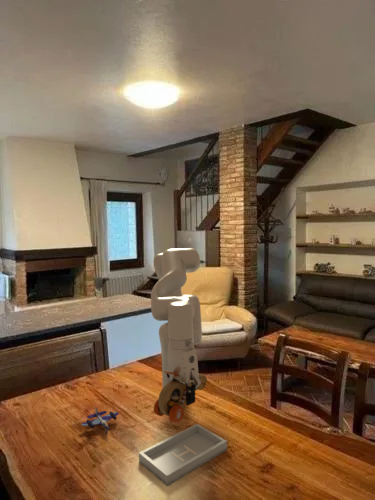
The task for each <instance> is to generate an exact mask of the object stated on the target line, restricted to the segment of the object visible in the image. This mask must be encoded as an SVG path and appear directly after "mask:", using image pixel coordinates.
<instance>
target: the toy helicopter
mask: <svg viewBox="0 0 375 500" xmlns="http://www.w3.org/2000/svg"><path fill="white" fill-rule="evenodd" d="M164 373H167V374H173V375H174V376H173V378H174V379H177V381H171V382H169V383H168V384H166V385H165V386H164V387H163V386H162V389H161V391H160V393H159V394H160V395H158V399H157V400H156V401H155V402H154V405H153V412H154V414H155V415H157V416H158V417H162V416H164V415H165V416H166V417H167V416H168V419H169V420H170V422H172V423H173V424H178V423H180V422H181V421H182V419H183V417H184V415H185V414H184V412H185V409H186V392H187V389H186V386H185V384H183V383H181V382H180V381H181V379H180V377H179V375H177V374H175V373H173V372H167V371H164ZM198 378H199V379H200V381H201V384H200V385H199V386H198V388H197V389H196V390H195V392H196V391H198V390H199V391H203V390H204V389H205V388H206V385H207V383H208V382H207V381H208V380H207V376H206V375H205V374H204V375H203V374H202V373H198ZM189 386H190V387H191V386H192V385H191V383H189Z"/></svg>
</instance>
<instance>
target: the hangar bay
mask: <svg viewBox="0 0 375 500" xmlns="http://www.w3.org/2000/svg"><path fill="white" fill-rule="evenodd" d="M227 450H228V440H226V439H224V438H223V437H220V436H219V435H217V434H215V433H214V432H212V431H211V430H209V429H207V428H206V427H204V426H202V425H200V424H199V423H195V424H194V425H192V426H190V427H187V428H186V429H184V430H182V431H180V432H178V433H175V434H173V435H172V436H169V437H168V438H166V439H162V441H160V442H159V441H158V443H155V444H154V445H152V446H150V447H148V448H146V449H144V450H142V451H139V452H138V463H139V464H141V466H143V467H144V468H146V469H147V470H148V471H149V472H150V473H151V474H152V475H154V476H155V477H156V478H157V479H159V481H160V482H162V483H163V484H164V485H166V487H168V486H170V485H172V484H173V483H175V482H176V481H178V480H180V479H182V478H183V477H185V476H187V475H188V474H190V473H191V472H193V471H195V470H196V469H198V468H199V467H201V466H203V465H204V464H206V463H208V462H209V461H211V460H213V459H215V458H216V457H218V456H220V455H221V454H223V453H224V452H226V451H227Z"/></svg>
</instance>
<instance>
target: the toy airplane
mask: <svg viewBox="0 0 375 500" xmlns="http://www.w3.org/2000/svg"><path fill="white" fill-rule="evenodd" d="M94 409H95V411H94V412H95V413H93V414H90V415H88V416H86V417H87V419H86V422H82V423H81V426H82V427H90V429H94V426H97V425H98V426H99V425H100V426H101V427H102V428H104V429H105V434H108V431H110V428H109V424H108V421H110V420H112V419H113V420H117V416H119V412H118V411H115V412H113V411H109V413H108V412H107V411H106V410H104V411H103V410H102V411H99V410H98V407H96V406H95V407H94ZM107 413H108V414H107ZM90 419H91V420H90ZM106 429H107V430H106ZM110 433H112V431H110Z"/></svg>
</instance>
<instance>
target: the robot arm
mask: <svg viewBox="0 0 375 500" xmlns="http://www.w3.org/2000/svg"><path fill="white" fill-rule="evenodd" d="M152 261H153V268H154V272H155V274H156V276H157V279H158V281H157V282H156V283H155V284H154V286H153V287H152V290H151V294H150V308H151V315H152V317H153V319H154V320H156V321H158V322H164V321H165V322H164V323H163V324H161V325H160V327H159V328H158V336H159V343H160V348H161V370H162V372H161V373H162V378H161V379H162V388H163V387H164V386H165V385H166V384H168V383H169V382H171V381H177V379H174V378H173V376H174V375H173V374H167V373H164V371H167V372H173V373H175V374H177V375H179V377H180V379H181V381H180V382H181V383H183V384H185V386H186V389H187V392H186V403H185V406H190V405H192V404H194V403H195V402H196V391H197V390H196V389H197V388H198V386H199V385H200V384H201V381H200V379H199V378H198V374H199V364H198V356H197V352H196V348H195V347H194V346H195V345H198V344H200V343H201V342H202V339H203V327H202V314H201V313H202V311H201V302H200V300H199V297H198V296H197V295H196V294H182V287H184V286H185V284H186V283H187V279H188V278H187V274H190V273H195V272H197V270H199V268H200V264H201V259H200V254H199V251H198V250H197V249H195V248H193V247H186V248H185V247H184V248H179V247H178V248H176V247H175V248H169V249H166V250H164V251H163V252H160V253H157V254H155V255H154V257H153V260H152ZM189 383H191V385H192V386H191V387H190V386H189ZM195 390H196V391H195ZM158 394H159V395H160V393H158ZM159 395H158V396H159Z"/></svg>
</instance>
